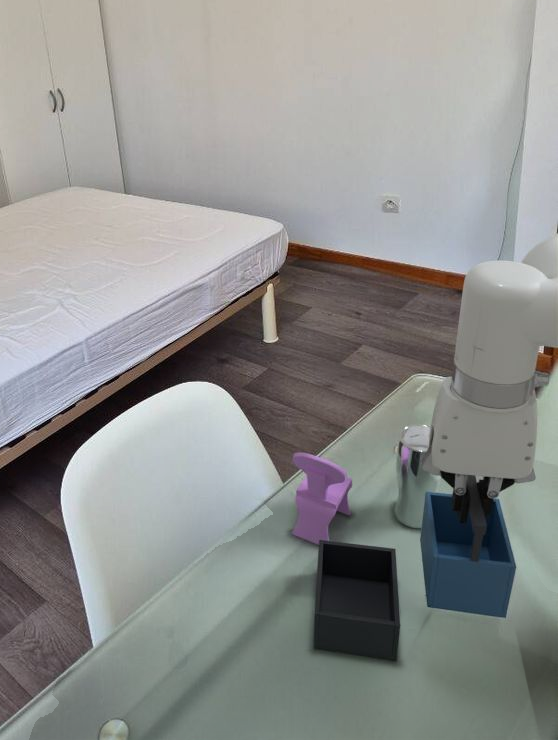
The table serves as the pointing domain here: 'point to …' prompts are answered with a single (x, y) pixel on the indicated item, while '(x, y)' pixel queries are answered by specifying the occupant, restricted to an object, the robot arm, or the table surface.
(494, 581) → the blue bin
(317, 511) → the toy chair
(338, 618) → the charcoal bin
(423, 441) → the beer glass
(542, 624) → the table surface
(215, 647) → the table surface
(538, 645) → the table surface
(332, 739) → the table surface
